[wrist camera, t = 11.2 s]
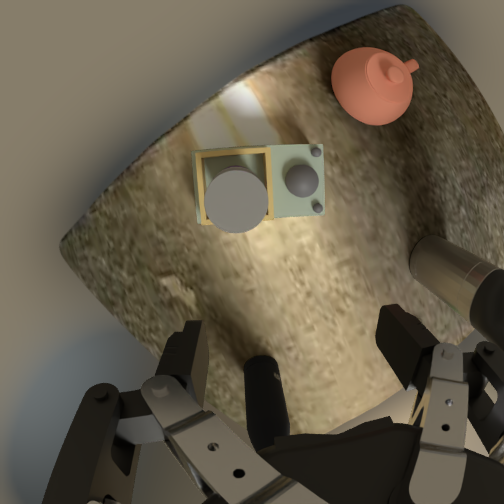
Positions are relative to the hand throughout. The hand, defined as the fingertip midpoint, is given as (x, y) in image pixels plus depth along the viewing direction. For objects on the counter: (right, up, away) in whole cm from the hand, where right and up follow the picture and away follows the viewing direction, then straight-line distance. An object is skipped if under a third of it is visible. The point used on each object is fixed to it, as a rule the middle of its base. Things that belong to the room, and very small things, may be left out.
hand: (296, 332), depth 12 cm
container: (-4, +12, +22) cm, 25 cm away
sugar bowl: (+16, +29, +23) cm, 40 cm away
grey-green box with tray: (-1, +14, +27) cm, 31 cm away
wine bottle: (0, -18, +38) cm, 42 cm away
